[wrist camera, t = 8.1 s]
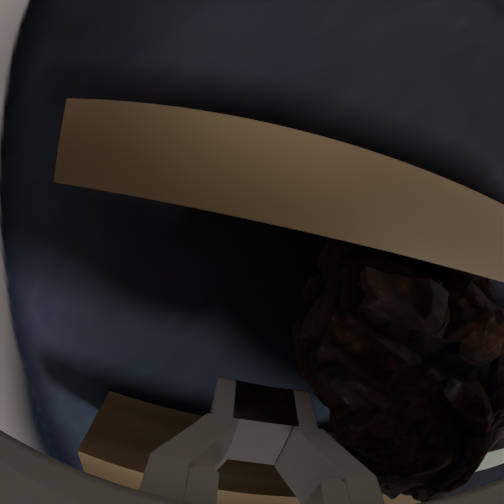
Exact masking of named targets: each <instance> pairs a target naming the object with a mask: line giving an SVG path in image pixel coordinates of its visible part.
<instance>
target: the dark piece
mask: <svg viewBox="0 0 504 504" xmlns="http://www.w3.org/2000/svg"><path fill="white" fill-rule="evenodd" d="M317 266H318V267H319V268H320V270H321V271H322V272H321V273H320V274H319V275H317V276H315V277H312V278H310V279H309V281H308V283H307V285H306V287H305V290H304V292H303V298H304V305H305V306H307V307H309V308H311V310H310V311H309V312H308V314H307V315H306V318H305V320H300V321H296V322H294V323H293V325H292V327H291V330H292V335H293V337H294V341H295V356H296V360H297V363H298V366H299V369H300V372H301V375H302V376H303V377H304V378H305V379H306V380H307V381H308V383H309V384H310V385H311V386H312V388H313V390H314V394H315V395H316V396H317V397H318V398H319V400H320V401H321V402H322V403H323V404H324V405H325V406H327V407H328V408H329V409H330V421H331V424H332V426H333V429H334V432H335V435H336V438H337V442H338V443H339V444H340V445H341V446H342V447H343V448H344V449H345V450H347V451H348V452H349V453H350V454H351V455H352V456H353V457H355V458H356V459H357V460H358V461H359V462H360V463H361V464H363V465H364V466H365V467H366V468H367V469H368V470H370V471H371V472H372V473H373V474H374V475H375V476H376V477H377V480H378V483H379V487H380V490H381V492H382V493H383V494H385V495H386V496H388V497H389V498H390V499H391V500H392V499H394V498H396V497H397V496H398V495H400V494H403V495H406V496H409V495H411V496H412V497H413V499H414V500H418V501H420V502H426V501H431V500H435V499H439V498H443V497H444V496H445V495H446V494H448V493H449V492H451V491H453V490H455V489H457V488H459V487H460V486H462V485H464V484H466V483H467V482H468V481H469V480H470V479H471V477H472V475H473V473H474V472H475V471H476V470H477V469H478V467H479V466H480V464H481V462H482V461H483V459H484V458H485V456H486V454H487V453H488V452H490V451H493V450H496V449H498V448H499V446H500V442H501V438H504V308H503V307H502V306H501V305H500V304H499V303H497V302H496V301H495V300H494V299H493V296H494V292H495V289H494V287H493V285H492V284H491V282H490V281H489V279H488V278H486V277H483V276H479V275H476V274H472V273H468V272H465V271H461V270H457V269H454V268H450V267H446V266H442V265H439V264H435V263H431V262H427V261H423V260H419V259H415V258H412V257H408V256H404V255H402V257H399V256H392V255H385V254H384V253H383V252H377V251H367V250H366V249H365V248H364V247H363V246H362V245H359V244H355V243H351V242H347V241H343V240H338V239H334V238H330V237H327V239H326V241H325V243H324V249H323V251H322V252H321V253H320V254H319V256H318V261H317Z"/></svg>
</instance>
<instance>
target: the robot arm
mask: <svg viewBox="0 0 504 504" xmlns="http://www.w3.org/2000/svg"><path fill="white" fill-rule="evenodd" d="M226 459H230V460H237V461H246V462H254V463H261V464H269V465H275V466H274V467H275V468H276V469H277V471H278V472H279V474H280V475H281V477H282V478H283V479H284V481H285V482H286V483H287V485H288V486H289V488H290V489H291V490H292V492H293V493H294V494H295V496H296V497H297V498H298V500H299V501H300V502H301V504H385V502H384V499H383V496H382V493H381V490H380V487H379V483H378V480H377V477H376V476H375V475H374V474H373V473H372V472H371V471H370V470H368V469H367V468H366V467H365V466H364V465H363V464H361V463H360V462H359V461H358V460H357V459H356V458H355V457H353V456H352V455H351V454H350V453H349V452H348V451H347V450H345V449H344V448H343V447H342V446H341V445H340V444H339V443H338V442H337V441H335V440H334V439H333V438H332V437H331V436H330V435H329V434H328V433H327V432H326V431H325V430H323V429H318V425H317V421H316V416H315V412H314V408H313V403H312V399H311V394H310V392H309V391H304V390H294V389H292V390H290V389H283V388H276V387H269V386H264V385H259V384H253V383H248V382H243V381H238V380H236V381H235V380H233V379H228V378H223V377H218V379H217V384H216V388H215V392H214V397H213V401H212V405H211V410H210V414H208V413H207V414H206V415H204V416H203V417H202V418H200V419H199V420H197V421H196V422H195V423H193V424H192V425H190V426H189V427H188V428H186V429H185V430H183V431H182V432H181V433H179V434H178V435H176V436H175V437H173V438H172V439H170V440H169V441H167V442H166V443H165V444H163V445H162V446H160V447H159V448H157V449H156V450H154V451H153V452H151V453H150V456H149V459H148V463H147V466H146V469H145V472H144V475H143V479H142V482H141V485H140V488H139V490H136V489H133V488H129V487H126V486H123V485H120V484H117V483H114V482H111V481H108V480H105V479H102V478H99V477H97V476H94V475H91V474H89V473H86V472H84V471H81V470H79V469H76V468H74V467H72V466H69V465H67V464H65V463H62V462H60V461H58V460H56V459H54V458H51V457H49V456H47V455H45V454H43V453H41V452H39V451H37V450H35V449H33V448H31V447H29V446H27V445H26V444H24V443H22V442H20V441H18V440H16V439H15V438H13V437H11V436H9V435H8V434H6V433H4V432H3V431H1V430H0V504H217V494H218V482H219V473H218V472H217V470H218V469H219V467H220V466H221V465H222V464H223V463H224V462H225V461H226ZM416 504H504V479H501V480H499V481H496V482H493V483H490V484H487V485H485V486H482V487H478V488H475V489H472V490H469V491H466V492H462V493H459V494H455V495H451V496H447V497H443V498H439V499H435V500H431V501H426V502H421V503H416Z"/></svg>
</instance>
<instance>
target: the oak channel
mask: <svg viewBox="0 0 504 504" xmlns="http://www.w3.org/2000/svg"><path fill="white" fill-rule="evenodd" d="M54 182H56V183H62V184H68V185H74V186H79V187H85V188H91V189H97V190H102V191H108V192H113V193H119V194H124V195H130V196H135V197H141V198H146V199H151V200H156V201H161V202H167V203H172V204H177V205H182V206H187V207H192V208H197V209H202V210H207V211H212V212H216V213H221V214H226V215H231V216H236V217H240V218H245V219H250V220H254V221H259V222H264V223H268V224H273V225H277V226H282V227H286V228H291V229H295V230H299V231H304V232H308V233H313V234H317V235H321V236H326V237H330V238H334V239H338V240H343V241H347V242H351V243H355V244H359V245H363V246H368V247H372V248H376V249H380V250H384V251H388V252H392V253H396V254H400V255H404V256H408V257H412V258H415V259H419V260H423V261H427V262H431V263H435V264H439V265H442V266H446V267H450V268H454V269H457V270H461V271H465V272H468V273H472V274H476V275H479V276H483V277H486V278H490V279H494V280H497V281H501V282H504V205H503V204H501V203H499V202H497V201H495V200H493V199H491V198H489V197H487V196H485V195H483V194H481V193H478V192H476V191H474V190H472V189H470V188H467V187H465V186H463V185H460V184H458V183H456V182H453V181H451V180H449V179H446V178H444V177H441V176H439V175H436V174H434V173H431V172H429V171H426V170H424V169H421V168H419V167H416V166H413V165H411V164H408V163H405V162H402V161H399V160H397V159H394V158H391V157H388V156H385V155H382V154H379V153H376V152H373V151H370V150H367V149H364V148H361V147H357V146H354V145H351V144H348V143H344V142H341V141H337V140H334V139H330V138H327V137H323V136H320V135H316V134H312V133H308V132H304V131H300V130H296V129H292V128H288V127H284V126H280V125H275V124H271V123H266V122H262V121H257V120H252V119H247V118H242V117H237V116H232V115H226V114H221V113H215V112H209V111H203V110H196V109H189V108H182V107H175V106H167V105H159V104H150V103H140V102H129V101H116V100H100V99H76V98H67V101H66V106H65V111H64V116H63V121H62V127H61V132H60V139H59V145H58V152H57V159H56V168H55V177H54ZM202 417H203V416H201V415H196V414H192V413H187V412H183V411H179V410H175V409H170V408H166V407H162V406H159V405H155V404H151V403H147V402H144V401H140V400H137V399H133V398H130V397H127V396H123V395H120V394H117V393H114V392H111V391H110V392H109V393H108V395H107V397H106V399H105V401H104V402H103V404H102V406H101V408H100V410H99V412H98V413H97V415H96V417H95V419H94V421H93V423H92V425H91V426H90V428H89V430H88V432H87V434H86V436H85V438H84V440H83V442H82V444H81V445H80V447H79V449H78V453H79V457H80V460H81V463H82V466H83V470H84V472H86V473H89V474H91V475H94V476H97V477H99V478H102V479H105V480H108V481H111V482H114V483H117V484H120V485H123V486H126V487H129V488H133V489H136V490H139V488H140V485H141V482H142V479H143V475H144V472H145V469H146V466H147V463H148V459H149V456H150V453H151V452H153V451H154V450H156V449H157V448H159V447H160V446H162V445H163V444H165V443H166V442H167V441H169V440H170V439H172V438H173V437H175V436H176V435H178V434H179V433H181V432H182V431H183V430H185V429H186V428H188V427H189V426H190V425H192V424H193V423H195V422H196V421H197V420H199V419H200V418H202ZM327 433H328V434H329V435H330V436H331V437H332V438H333V439H334V440H335V441H337V438H336V435H335V432H327ZM274 466H275V465H269V464H261V463H254V462H246V461H237V460H230V459H226V461H225V462H224V463H223V464H222V465H221V466H220V467H219V469H218V470H217V472H218V473H219V482H218V494H217V504H301V502H300V501H299V500H298V498H297V497H296V496H295V494H294V493H293V492H292V490H291V489H290V488H289V486H288V485H287V483H286V482H285V481H284V479H283V478H282V477H281V475H280V474H279V472H278V471H277V469H276V468H275V467H274ZM381 493H382V492H381ZM382 496H383V499H384V502H385V504H416V503H421V502H420V501H418V500H414V499H413V497H412V496H411V495H409V496H406V495H403V494H400V495H398V496H397V497H396V498H394V499H392V500H391V499H390V498H389V497H388V496H386V495H385V494H383V493H382Z"/></svg>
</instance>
